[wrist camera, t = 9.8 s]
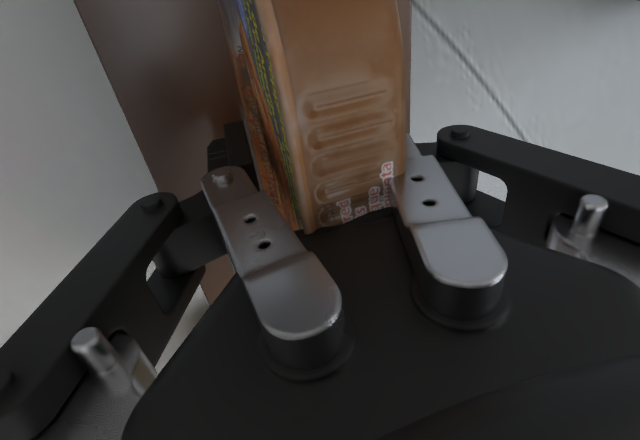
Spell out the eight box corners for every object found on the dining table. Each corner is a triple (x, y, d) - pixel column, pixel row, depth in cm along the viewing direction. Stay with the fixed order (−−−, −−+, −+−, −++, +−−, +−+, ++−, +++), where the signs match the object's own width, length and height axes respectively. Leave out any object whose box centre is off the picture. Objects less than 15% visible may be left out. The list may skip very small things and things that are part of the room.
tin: (187, -115, 11) (165, -211, 4) (296, -129, 11) (435, -240, 5) (283, 270, 20) (324, 434, 13) (342, 254, 20) (411, 406, 14)
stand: (209, 231, 26) (211, 310, 20) (72, -128, 15) (-5, -172, 9) (366, 192, 27) (408, 256, 22) (343, -163, 16) (416, -219, 11)
